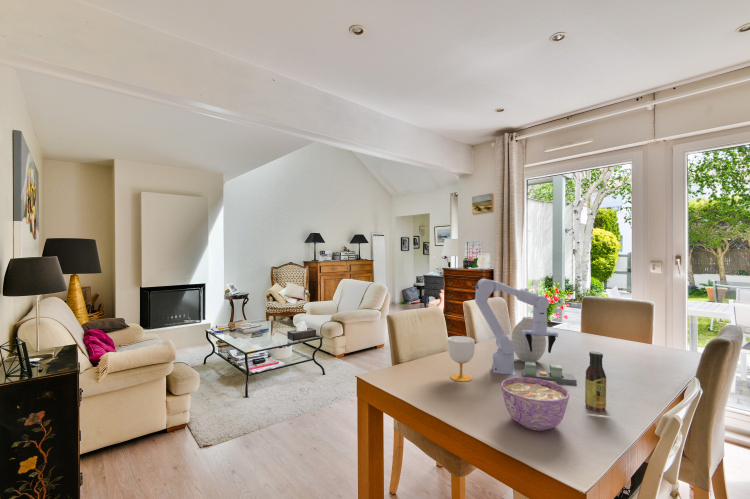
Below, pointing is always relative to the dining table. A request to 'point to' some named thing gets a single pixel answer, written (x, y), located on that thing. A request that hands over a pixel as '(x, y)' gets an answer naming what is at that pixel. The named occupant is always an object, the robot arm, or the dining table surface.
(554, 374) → the plug
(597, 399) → the sauce bottle
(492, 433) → the dining table surface
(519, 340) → the vase
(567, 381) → the gray fixture base
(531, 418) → the bowl of food
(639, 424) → the dining table surface
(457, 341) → the cup
